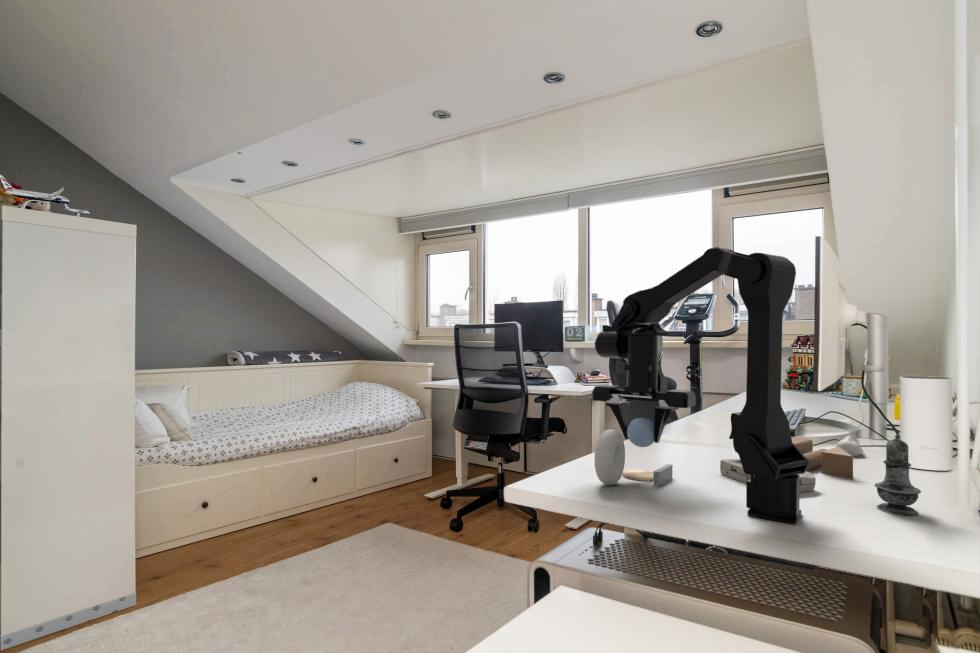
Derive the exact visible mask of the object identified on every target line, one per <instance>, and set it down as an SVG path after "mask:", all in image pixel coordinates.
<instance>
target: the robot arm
mask: <svg viewBox="0 0 980 653" xmlns="http://www.w3.org/2000/svg"><path fill="white" fill-rule="evenodd" d="M722 275H724V276H726V277H730V278H733V279H735V280H737V286H738V292H739V296H740V298H741V300H742V303H743V304H744V306H745V308H746V311H747V336H746V338H747V342H746V344H747V345H746V346H747V347H746V381H745V382H746V386H745V388H746V390H745V392H746V393H745V404H744V405H743V407H742V409H741V411H739V412H733V413H731V414H730V425H731V429H730V430H731V431H730V434H729V437H728V438H729V440H732V445H733V449H734V452H735V453H737V455H738V456H739V459H740V460H741V463H742V467H743V470H744V473H745V474H748V475H750V479H749V480H748V481H747V482H746V483H745V484H746V485H745V486H746V489H745V490H746V491H745V492H746V498H745V499H746V502H745V504H746V505H745V506H746V508H747V509H748V510H747V515H748V516H751V517H757V518H762V519H768V520H773V521H778V522H783V523H790V524H797V523H798V521H799V519H800V518H801V515H802V514H803V513H802V512H803V511H802V509H800V492H799V486H800V475H797V474H804V473H805V472H807V471H806V469H807V467H808V464H809V461H808V460H807V459H806V457H805V456H804V455H803V454H802V453H801V452H800V451H799V449H798V448H797V447H796V446H795V445H794V444H793V443H792V438H793V437H792V434H791V427H790V426H791V425H790V422H789V419H788V417H787V415H786V413H785V411H784V409H783V406H782V401H781V399H782V398H781V397H782V394H781V393H782V357H783V356H782V352H783V351H782V350H783V318H784V317H783V316H784V315H783V313H784V311H785V309H786V307H787V304H788V303H789V301H790V299H791V297H792V295H793V291H794V286H795V282H796V278H797V277H796V275H797V270H796V265H795V263H793V262H792V261H791V260H790V259H788V258H787V257H785V256H780V255H775V254H771V253H770V254H769V253H763V252H753V253H749V254H745V253H742V252H738V251H735V250H733V249H731V248H725V247H719V246H713V247H711V248H707V249H706V250H705V252H703V254H702V255H700V256H698V257H697V258H696V259H695V260H692V261H691V262H690V263H688V264H687V265H685V266H684V267H683V268H680V270H678V271H677V272H675V273H674V274H672V275H670V276H669V277H667V278H666V279H665V280H663V281H662V282H661V283H659V284H657V285H655V286H653V287H648V288H643V289H640V290H638V291H636V292H633V293H631V294H628V295H626V297H625V298H624V299H623V301H622V306H621V308H620V309H619V311H618V313H617V315H616V316H615V319H614V320H613V322H612V324H611V325H610V324H603V325H602V331H600V332H599V333H598V334H597V336H596V337H595V338H596V339H595V341H594V348H595V351H596V353H597V354H598V355H599V357H600V358H606V359H626V364H624V371H626V385H624V389H622V387H621V386H620V385H614V384H613V385H611V384H610V385H609V384H602V385H596V386H594V387H593V389H592V391H591V400H592V401H596V402H597V401H598V402H606V403H605V406H606V407H609V408H610V409H611V411H612V413H613V415H614V417H615V419H616V420H617V423H618V425H619V428H620V429H621V432H622V435H623V436H624V439H625V440H629V438H628V435H627V428H628V425H629V424H630V415H629V414H630V406H631V401H632V400H633V401H642V402H643V401H645V402H657V403H658V404H659V406H656V407H654V411H653V412H654V414H653V415H654V417H653V418H654V421H653V423H654V438H655V441H654V443H655V444H659V443H660V441H661V437H662V436H663V432H664V429H665V426H666V424H667V421H668V419H669V417H670V416H671V414H673V412H674V411H678V410H679V409H689V408H692V407H694V406H696V405H697V404H696V401H697V397H696V394H695V392H694V391H693V390H687V389H671V390H670V389H669V390H667V389H668V381H669V380H668V378H666V377H665V375H663V374H661V368H660V367H661V366H660V364H659V363H658V362H659V355H658V354H659V350H658V349H659V347H658V346H659V337H667V336H668V335H669V334H668V331H666V330H665V329H664V328H662V326H661V325H660V322H662V321H663V320H664V319H665V318H666V317H667V316H668V315H669V314H670V313H671V311H672V308H673V307H674V306H675V305H676V304H677V303H679V302H680V301H682V300H684V299H685V298H687V297H688V296H690V295H692V294H693V293H695V292H697V291H698V290H700V289H702V288H703V287H705V286H706V285H708V284H709V283H711V282H713V281H715V280H716V279H718V278H719V277H721V276H722ZM627 400H631V401H627Z"/></svg>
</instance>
